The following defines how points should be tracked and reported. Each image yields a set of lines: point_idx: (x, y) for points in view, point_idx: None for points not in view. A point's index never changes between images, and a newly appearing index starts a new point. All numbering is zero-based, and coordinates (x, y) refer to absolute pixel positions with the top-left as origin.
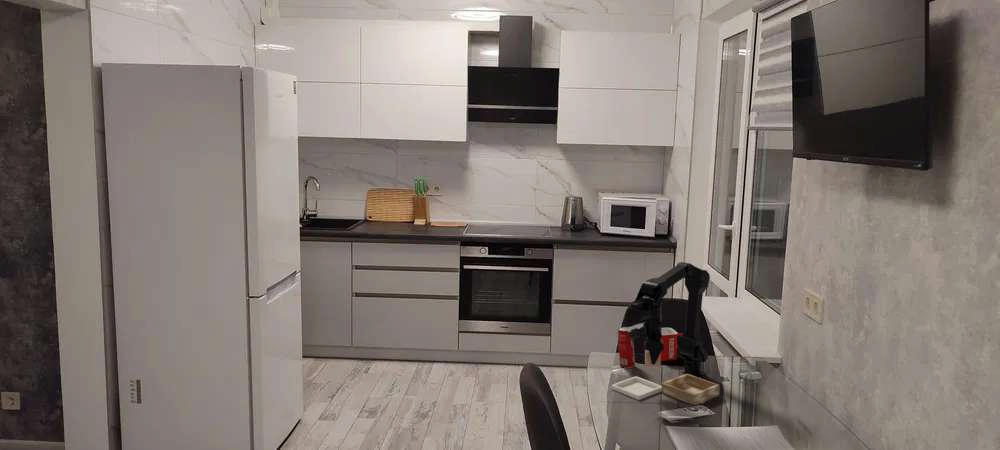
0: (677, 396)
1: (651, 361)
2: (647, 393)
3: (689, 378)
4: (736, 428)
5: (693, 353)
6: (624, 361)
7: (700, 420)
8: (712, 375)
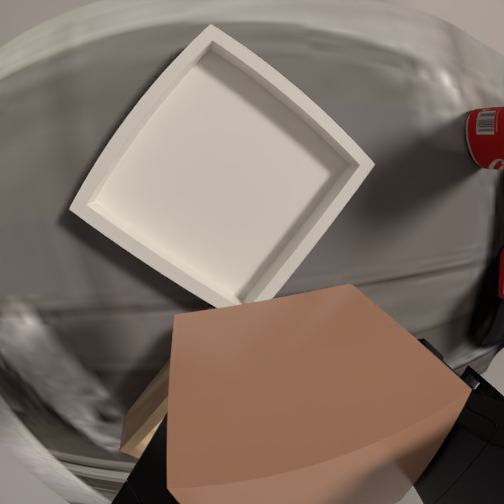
0: (158, 384)
1: (161, 421)
2: (132, 252)
3: None
4: (57, 466)
5: None
6: (486, 123)
7: (43, 418)
8: None
